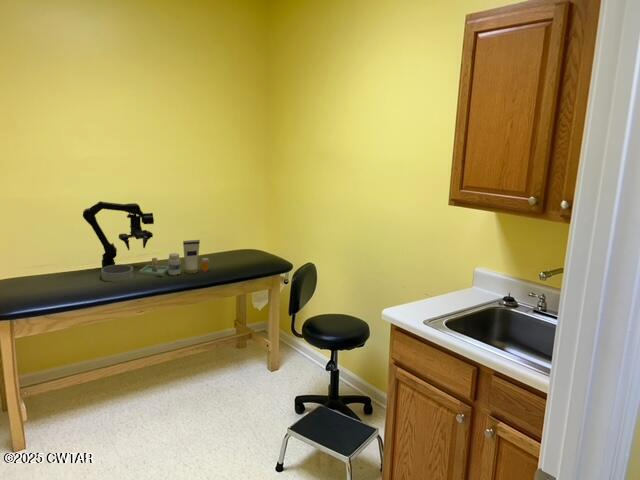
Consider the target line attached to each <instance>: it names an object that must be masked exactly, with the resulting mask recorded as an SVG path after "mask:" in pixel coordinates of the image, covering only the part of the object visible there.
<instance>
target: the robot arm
mask: <svg viewBox="0 0 640 480" xmlns="http://www.w3.org/2000/svg"><path fill="white" fill-rule="evenodd" d="M102 210H109V211H116V212H117V211H118V212H126V213H128V214H127V215H126V218H128V219H130V223H129V224H130V225H129V228H130V232H129V233H130V234H128V233H119V235H118V239H119V240H120V241H123V242H124V245H125V246H126V248H127V250H128V251H130V240H129V239H132V238H135V239H136V240H141V239H142V248H143V249H145V248H146V246H147V243H148V242H149V241H148V240H150V239H151V238H153V237H154V234H153V232H151V231H150V230H147V229H144V230H143V229H142V225H141V223H143V225H154V222H155V220H154V213H153V212H149V213H148V212H147V213H146V212H145V213H144V212H143V211H142V210H141V207H140V205H139V204H138V203H137V202H135V203H134V202H133V203H115V202H107V201H106V202H105V201H98V202H97V203H95V204H94V205H92V206H91V207H88V208H85V209H84V210H83V212H82V218H83V220H85V221H86V222H87V223H88V225H90V227H91V229H92V230H93V231H94V233H95V236H96V237H97V238H98V240H99V241H100V243H101V245H102V247H103V250H104V253H103V254H102V255H101V256H102V259H101V269H102V268H104V267H105V266H110V265H116V262H115V258H116V257H117V254H118V253H117V252H118V249H117V247H116V246H115V243H113V242H112V243H110V241H109V239H108V237H107V236H106V235H105V234H106V233H104V231H103V230H102V228H101V226H100V225H99V222H98V220H97V218H96V215H97V214H98V213H99V212H101V211H102Z"/></svg>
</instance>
